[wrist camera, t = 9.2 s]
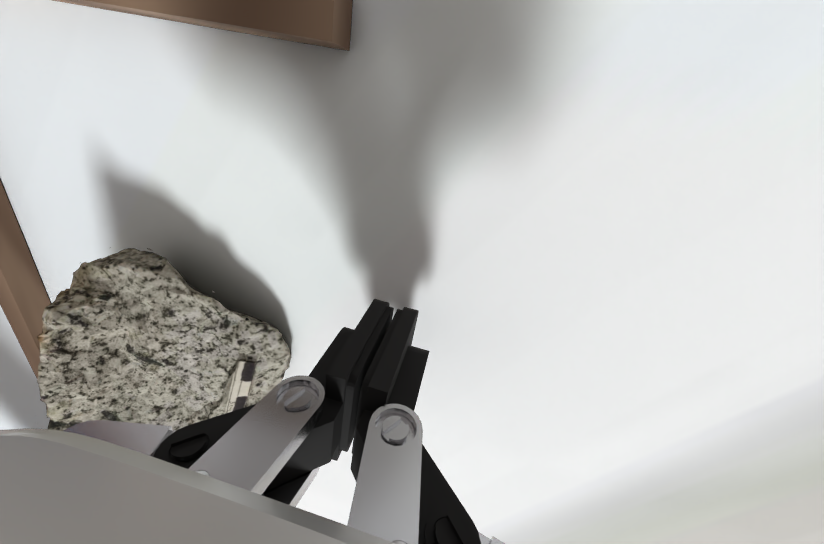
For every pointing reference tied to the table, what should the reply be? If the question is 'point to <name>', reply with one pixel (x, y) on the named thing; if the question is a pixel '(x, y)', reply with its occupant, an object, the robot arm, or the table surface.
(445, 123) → the table surface
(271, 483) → the robot arm
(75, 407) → the rock sample
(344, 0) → the frame
